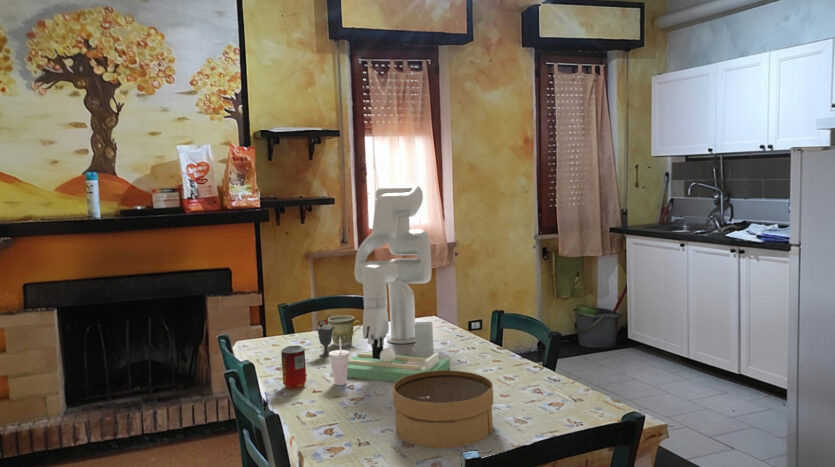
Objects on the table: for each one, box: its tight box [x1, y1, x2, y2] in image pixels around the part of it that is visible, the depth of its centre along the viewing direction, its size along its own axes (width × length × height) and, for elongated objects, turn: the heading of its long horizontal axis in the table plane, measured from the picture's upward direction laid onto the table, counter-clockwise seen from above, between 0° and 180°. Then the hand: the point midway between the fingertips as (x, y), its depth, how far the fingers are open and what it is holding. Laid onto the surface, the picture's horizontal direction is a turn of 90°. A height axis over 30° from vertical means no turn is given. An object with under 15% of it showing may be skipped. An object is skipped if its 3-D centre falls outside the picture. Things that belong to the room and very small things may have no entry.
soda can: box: [280, 345, 307, 391], centre depth 196 cm, size 7×7×12 cm
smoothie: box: [328, 339, 351, 386], centre depth 197 cm, size 6×6×14 cm
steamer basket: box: [392, 370, 494, 449], centre depth 159 cm, size 25×25×11 cm
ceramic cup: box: [327, 315, 362, 347], centre depth 245 cm, size 13×10×10 cm
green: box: [347, 351, 451, 383], centre depth 207 cm, size 18×32×6 cm, turn 67°
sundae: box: [315, 314, 335, 358], centre depth 229 cm, size 7×7×15 cm
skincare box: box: [414, 321, 435, 357], centre depth 223 cm, size 6×4×12 cm
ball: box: [380, 347, 396, 363], centre depth 206 cm, size 5×5×5 cm
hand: (378, 358), depth 209 cm, fingers closed
